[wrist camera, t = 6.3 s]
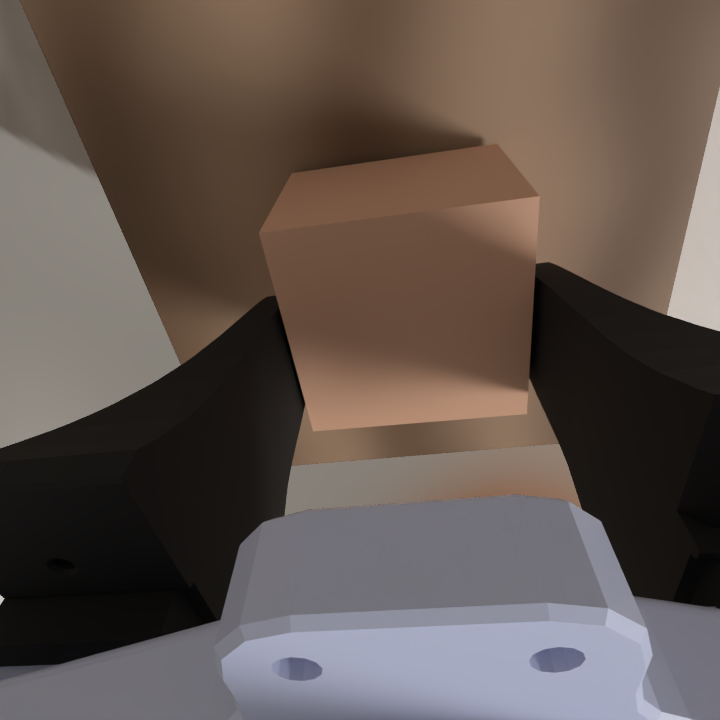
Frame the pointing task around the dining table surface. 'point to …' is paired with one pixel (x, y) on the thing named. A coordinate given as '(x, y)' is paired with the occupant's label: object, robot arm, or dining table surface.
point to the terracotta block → (407, 287)
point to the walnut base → (385, 140)
